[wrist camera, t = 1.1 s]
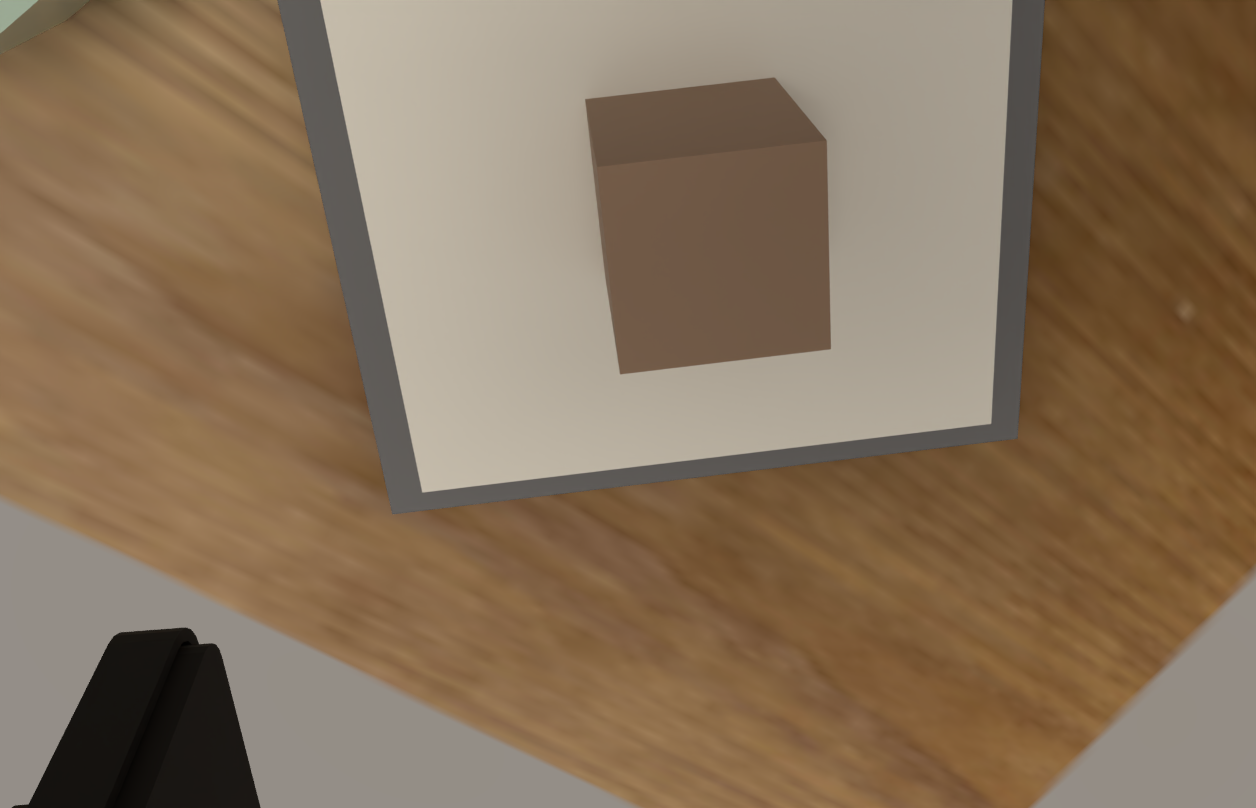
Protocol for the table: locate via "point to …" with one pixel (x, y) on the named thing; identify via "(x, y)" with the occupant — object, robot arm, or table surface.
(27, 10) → the bowl
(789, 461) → the mat
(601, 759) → the table surface
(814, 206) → the lid
